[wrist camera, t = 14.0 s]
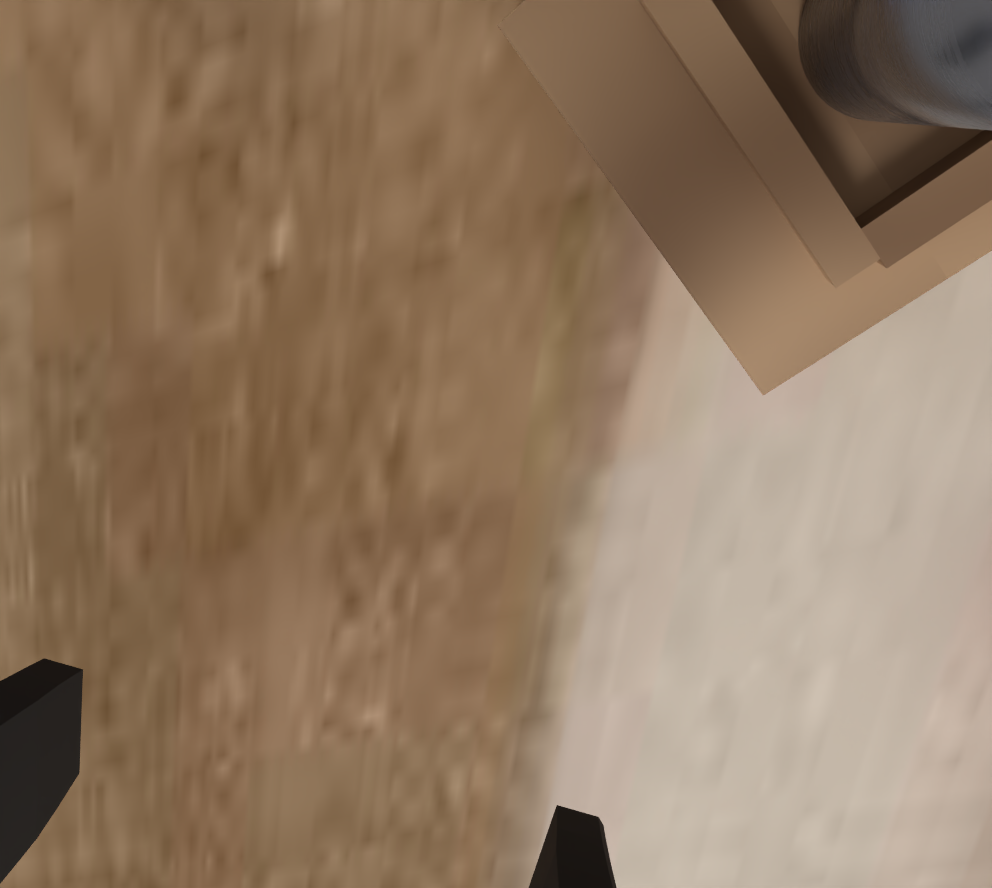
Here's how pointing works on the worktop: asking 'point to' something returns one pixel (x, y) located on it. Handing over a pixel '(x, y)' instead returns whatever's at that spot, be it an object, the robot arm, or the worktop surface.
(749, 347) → the socket block
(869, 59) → the metal cylinder
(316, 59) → the worktop surface
